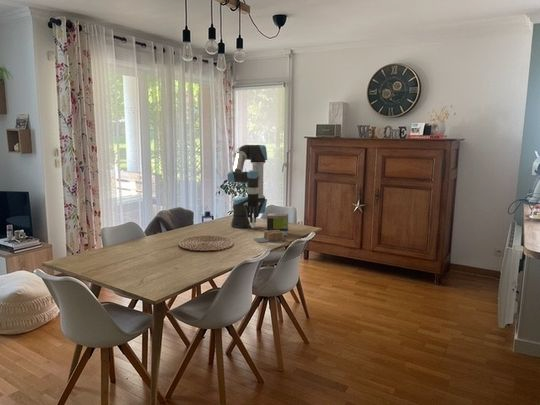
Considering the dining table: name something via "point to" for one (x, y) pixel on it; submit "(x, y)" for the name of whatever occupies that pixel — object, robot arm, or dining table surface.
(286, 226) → the tea box
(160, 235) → the dining table surface
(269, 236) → the tan upright block
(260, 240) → the slate mat
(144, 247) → the dining table surface
